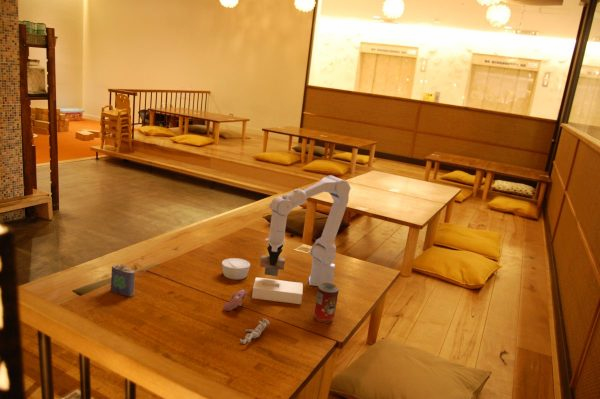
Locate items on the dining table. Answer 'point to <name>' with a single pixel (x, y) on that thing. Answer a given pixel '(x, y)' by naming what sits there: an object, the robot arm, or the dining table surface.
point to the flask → (122, 281)
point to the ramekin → (235, 268)
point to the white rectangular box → (277, 290)
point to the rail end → (269, 268)
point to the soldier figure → (255, 331)
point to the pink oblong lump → (235, 300)
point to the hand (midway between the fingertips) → (273, 263)
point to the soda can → (326, 302)
